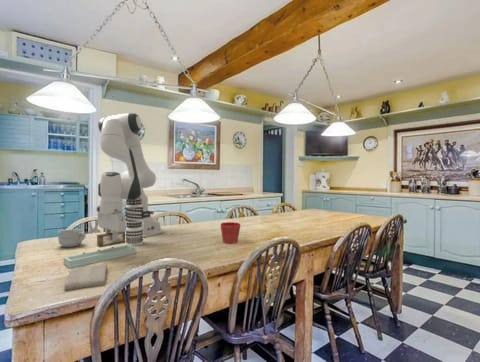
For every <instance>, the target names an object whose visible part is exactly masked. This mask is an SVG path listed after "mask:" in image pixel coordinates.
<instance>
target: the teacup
mask: <svg viewBox="0 0 480 362" xmlns="http://www.w3.org/2000/svg"><path fill="white" fill-rule="evenodd" d="M57 233H58V243H59V245H60V246H62V247H63V248H73V247H77V246H80V244H82V242H83V241H84V240H85V239H86V233H85V232H84V229H82V228H73V229H65V230H64V229H63V230H58V232H57Z"/></svg>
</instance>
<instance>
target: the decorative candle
mask: <svg viewBox="0 0 480 362" xmlns="http://www.w3.org/2000/svg"><path fill="white" fill-rule="evenodd" d="M125 200H126V201H125V202H126V203H125V207H124V210H125V211H124V215H125V220H126V230H125V245H131V246H133V247H135V246H139V245H142V244H144V242H143V241H144V239H143V238H144V237H143V236H142V234H143V233H142V231H143V230H142V221H143V220H142V219H143V217H141V216H143V214H141V212H143V210H142V209H143V207H142V198H141V197H140V196H139V197H138V198H137V199H135V200H128V199H125Z"/></svg>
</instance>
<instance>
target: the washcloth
mask: <svg viewBox="0 0 480 362" xmlns="http://www.w3.org/2000/svg"><path fill="white" fill-rule="evenodd" d="M107 269H108V264H107V263H101V264H97V265H83V266H78V267H74V268H71V270H69V272H68V274H67V277H66V279H65V281H64V291H72V289H73V290H77V289H82V288H83V287H85V288H92V286H93V287H98V286H99V285H100V286H105V285H106V282H107V281H106V277H107Z"/></svg>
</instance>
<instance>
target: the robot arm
mask: <svg viewBox="0 0 480 362" xmlns="http://www.w3.org/2000/svg"><path fill="white" fill-rule="evenodd" d="M141 120H142V119H141V118H140V115H138V114H137V113H133V112H130V113H118V114H115V115H110V116H104V117H102V118H100V119H99V121H98V122H97V123H98V124H97V125H98V126H97V127H98V130H99V132H100V139H99V140H100V142H99V143H100V148H101V151H102V152H103V153H105V155H107V156H108V157H109V158H110V157H111V158H113V159H115V160H118V161H121V162H123V163H124V164H125V165H126V167H127V168H126V169H127V170H124V171H123V172H122V173H119V172H116V171H106V172H102V174H101V177H100V182H99V183H98V185H97V188H98V192H97V193H98V194H97V195H98V196H99V197H100V204H99V205H98V206H96V212H97V225H98V227H99V228H101V229H105V230H104V231H105V233H113V235H112V237H111V238H112V239H111V240H113V241H116V240H117V235H118V233H119V232H125V233H126V227H127V223H126V220H125V219H126V217H125V213H123V200H126V199H128V200H135V199H137V198H138V197H139V196H140V197H141V198H142V207H143V209H142V210H143V212H141V214H143V216H141V217H143V219H142V220H143V221H142V230H143V231H142V233H143V234H142V236H143V238H145V237H151V236H156V235H159V234H163V233H165V230H164V229H163V228H162V227H161V223H160V222H159V221H158V220H157V219H156V218H154V217H153V216H154V214H155V211H153V210H149V198H148V196H147V195H146V193H145V190H144V189H147V188H150V187H153V186H154V185H155V183H156V181H157V176H156V174H155V172H154V171H152V169H151V168H150V167H149V166H148V164H147V161H146V159H145V158H144V154H143V149H142V148H143V147H142V145H141V144H142V143H141V141H140V137H139V135H138V134H139V132H140V131H141V130H142V121H141ZM151 215H153V216H151Z"/></svg>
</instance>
